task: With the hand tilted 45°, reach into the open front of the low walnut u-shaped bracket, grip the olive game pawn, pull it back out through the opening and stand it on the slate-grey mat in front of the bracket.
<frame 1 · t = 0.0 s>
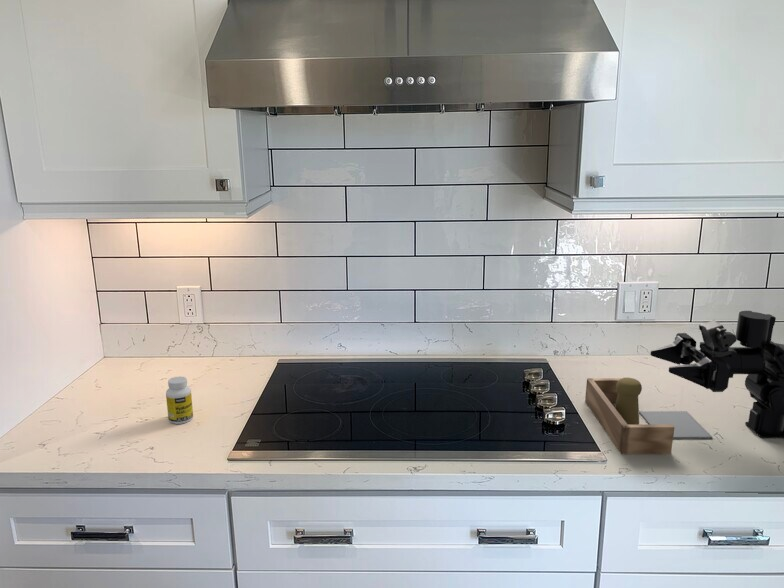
hand: (659, 361, 132), 17 cm above the worktop, tool horizontal, fingers open, 9 cm apart
grey mat: (674, 425, 139), on the worktop
walnut u-shaped bracket: (629, 425, 139), on the worktop
supplement bottle: (181, 420, 143), on the worktop
olive game pawn: (624, 426, 139), on the worktop
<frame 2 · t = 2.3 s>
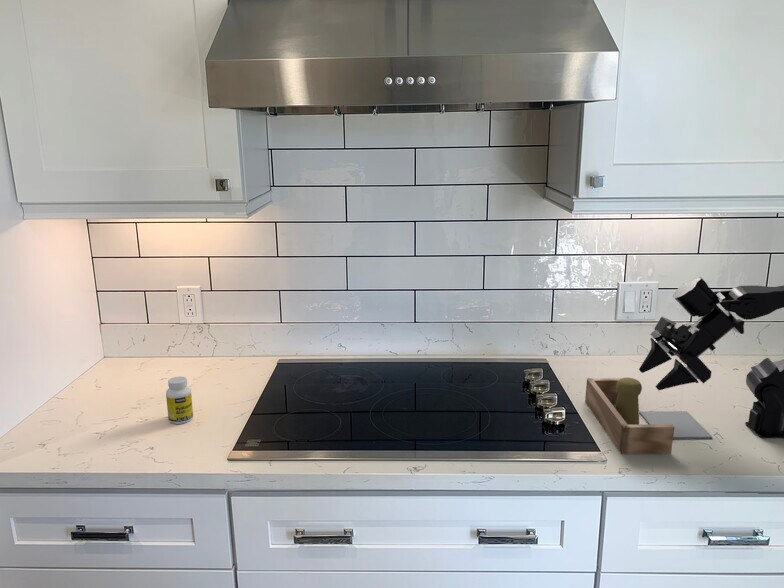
hand: (648, 379, 136), 11 cm above the worktop, tool tilted 45°, fingers open, 9 cm apart
nothing on the worktop moved.
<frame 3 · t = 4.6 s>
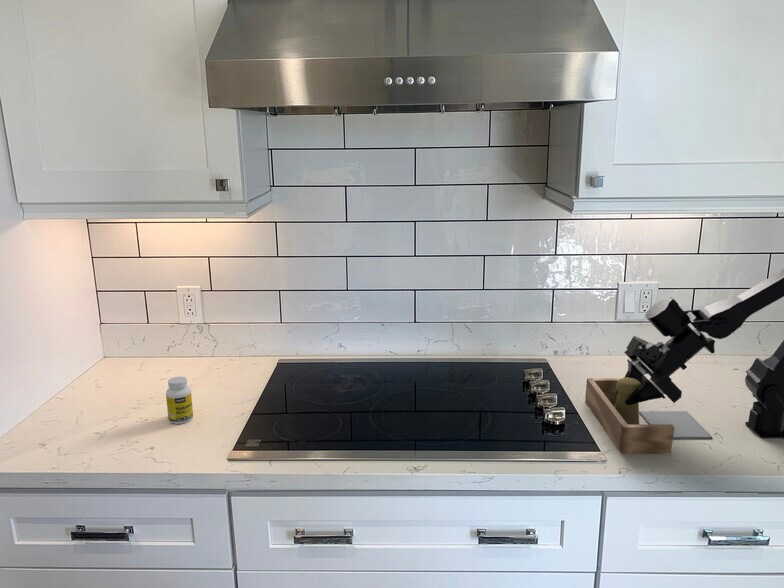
hand: (621, 398, 137), 7 cm above the worktop, tool tilted 45°, fingers closed on olive game pawn, 5 cm apart
olive game pawn: (624, 426, 139), on the worktop, touching gripper
everything else where it was.
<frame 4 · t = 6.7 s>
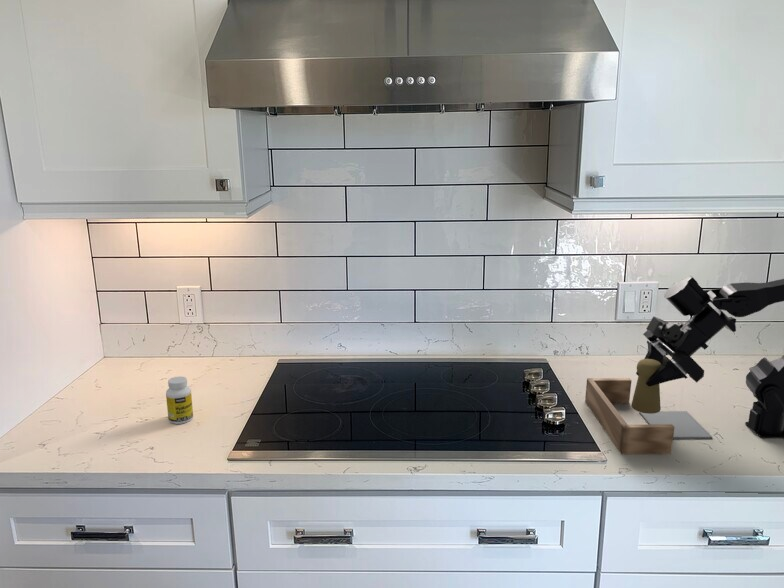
hand: (642, 379, 136), 11 cm above the worktop, tool tilted 45°, fingers closed on olive game pawn, 5 cm apart
olive game pawn: (645, 408, 138), point 4 cm above the worktop, touching gripper
everything else where it was.
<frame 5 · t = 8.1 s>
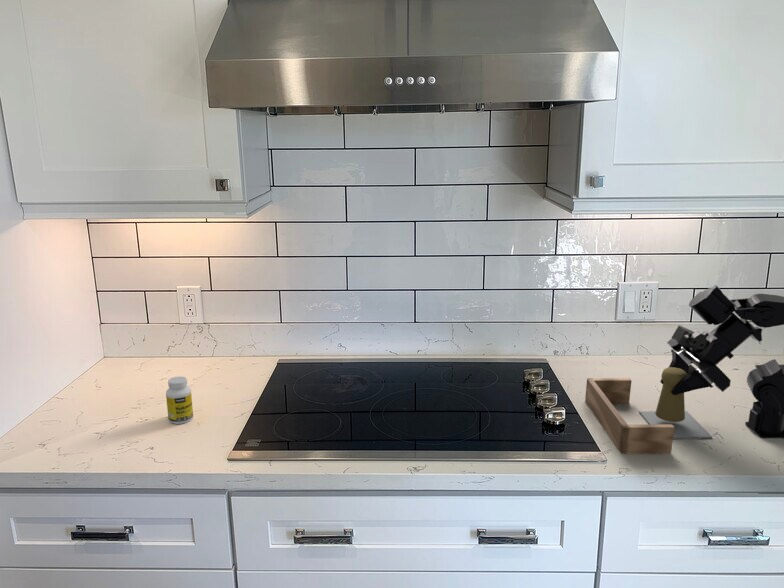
hand: (666, 388, 137), 9 cm above the worktop, tool tilted 45°, fingers closed on olive game pawn, 5 cm apart
olive game pawn: (669, 416, 138), point 2 cm above the worktop, touching gripper
everything else where it was.
when the fingers open (8 cm above the worktop, at t = 9.0 s): olive game pawn drops 1 cm, resting on grey mat.
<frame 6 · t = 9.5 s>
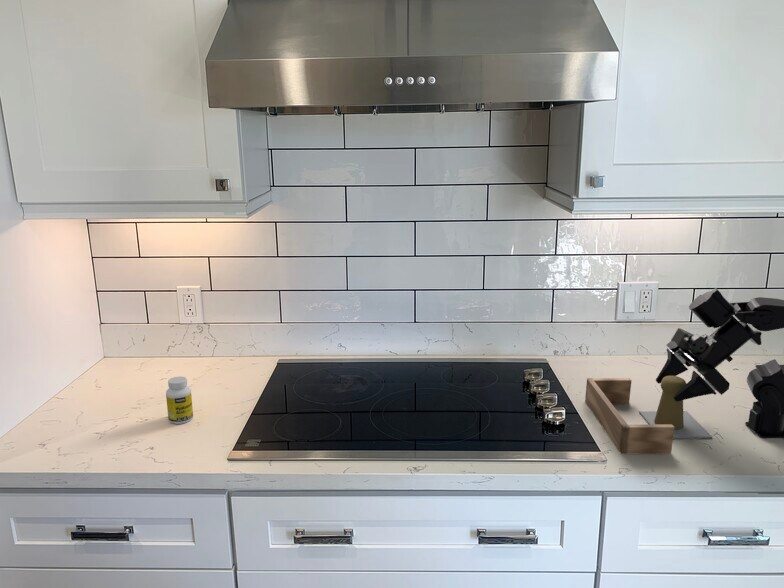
hand: (665, 390, 137), 8 cm above the worktop, tool tilted 45°, fingers open, 9 cm apart
olive game pawn: (668, 424, 139), resting on grey mat
everything else where it was.
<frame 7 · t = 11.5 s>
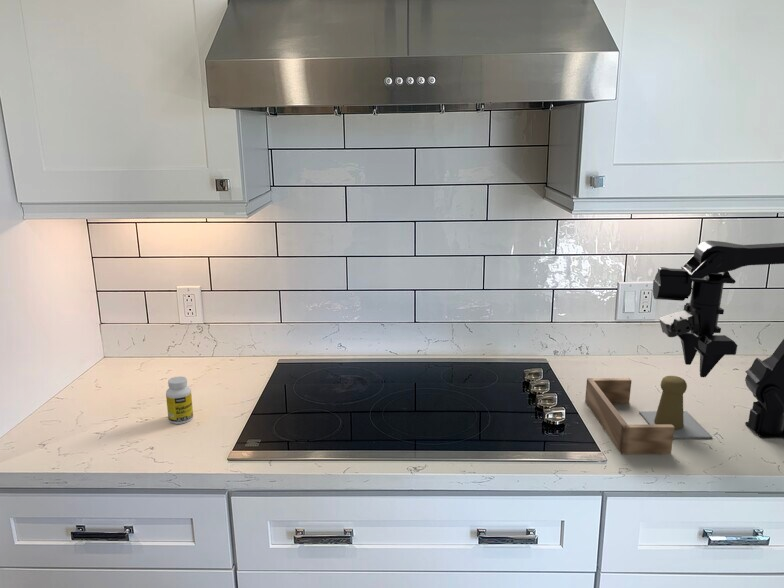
hand: (695, 370, 136), 13 cm above the worktop, tool pointing down, fingers open, 7 cm apart
nothing on the worktop moved.
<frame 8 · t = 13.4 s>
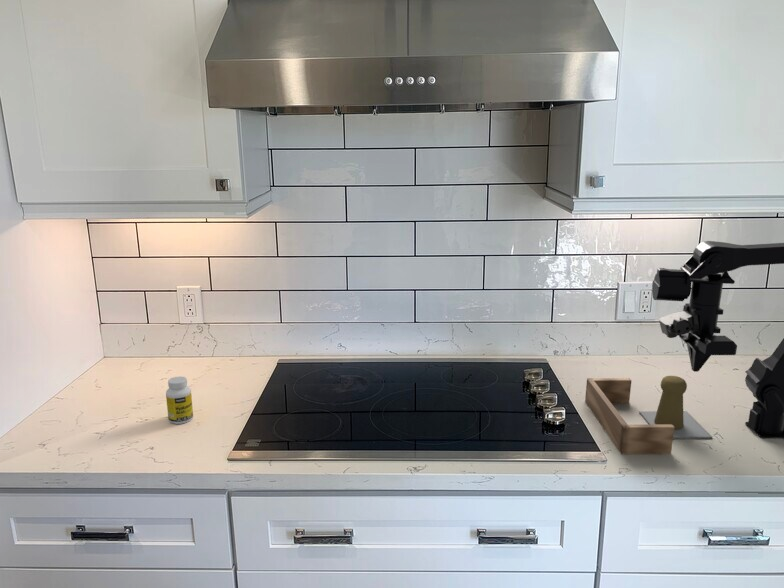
hand: (695, 370, 136), 13 cm above the worktop, tool pointing down, fingers closed
nothing on the worktop moved.
at the end: olive game pawn inside the target area (1.3 cm from its centre), resting on grey mat; olive game pawn tilted 0°; the gripper is holding nothing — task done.
